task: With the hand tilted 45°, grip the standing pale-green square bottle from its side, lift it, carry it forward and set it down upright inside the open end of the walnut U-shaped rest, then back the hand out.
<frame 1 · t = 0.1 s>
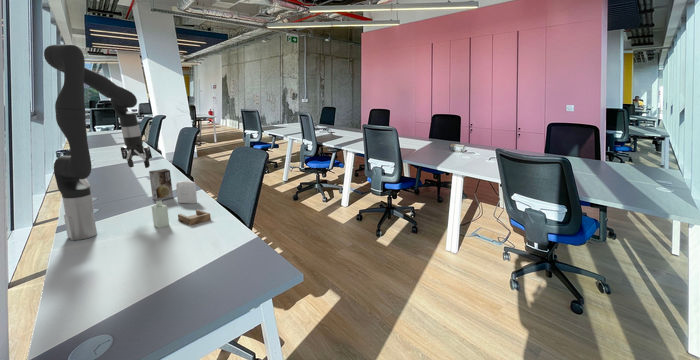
hand: (139, 167, 178), 22 cm above the table, tool pointing down, fingers open, 8 cm apart
bath foam: (85, 208, 187), on the table
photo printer: (187, 203, 197), on the table
bottle: (161, 225, 161), on the table
rest: (195, 220, 168), on the table
coffee box: (162, 198, 206), on the table
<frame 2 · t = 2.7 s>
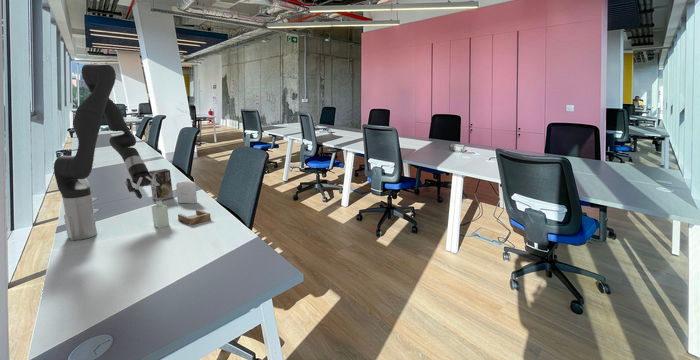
hand: (151, 195, 163), 12 cm above the table, tool tilted 45°, fingers open, 8 cm apart
nothing on the table moved.
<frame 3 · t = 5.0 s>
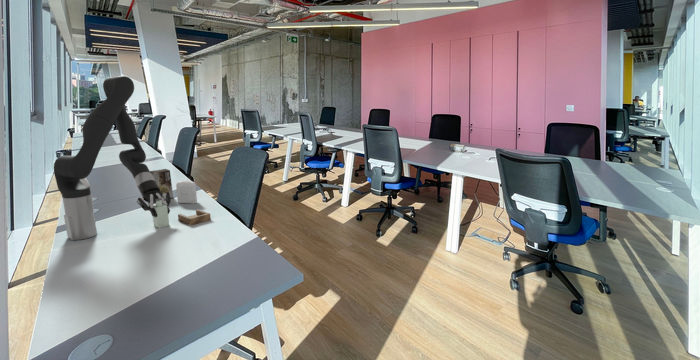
hand: (162, 214, 159), 5 cm above the table, tool tilted 45°, fingers closed on bottle, 4 cm apart
bottle: (161, 225, 161), on the table, touching gripper
everything else where it was.
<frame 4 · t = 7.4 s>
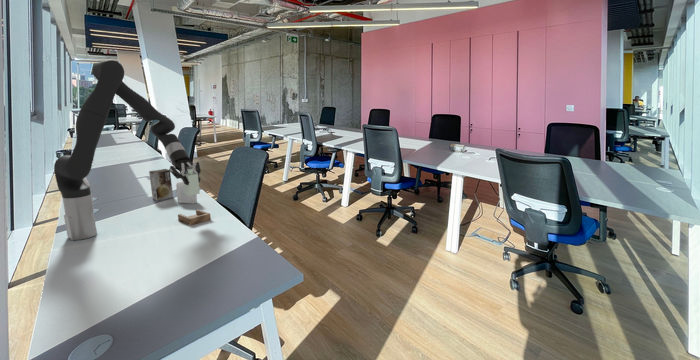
hand: (193, 182, 163), 18 cm above the table, tool tilted 45°, fingers closed on bottle, 4 cm apart
bottle: (192, 193, 166), point 13 cm above the table, touching gripper
everything else where it was.
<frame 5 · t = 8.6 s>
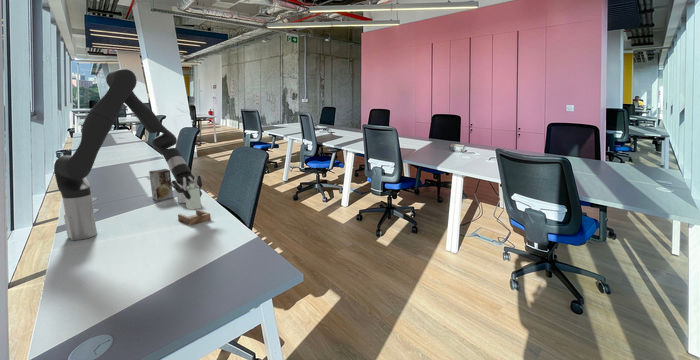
hand: (195, 197, 165), 11 cm above the table, tool tilted 45°, fingers closed on bottle, 4 cm apart
bottle: (193, 207, 167), point 6 cm above the table, touching gripper
everything else where it was.
when the fingers open (7 cm above the table, at t = 9.7 s): bottle drops 1 cm, resting on rest.
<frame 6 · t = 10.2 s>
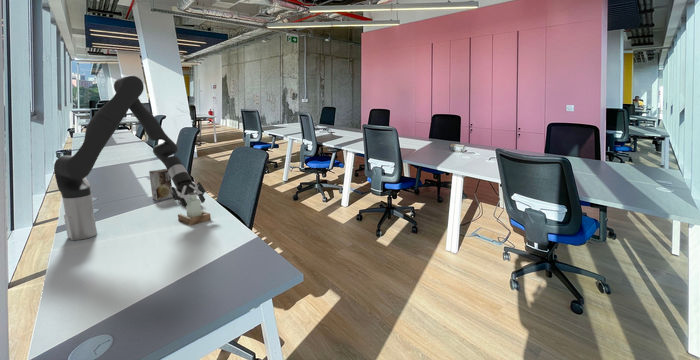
hand: (194, 203, 166), 8 cm above the table, tool tilted 45°, fingers open, 8 cm apart
bottle: (194, 218, 168), point 1 cm above the table, touching rest
everything else where it was.
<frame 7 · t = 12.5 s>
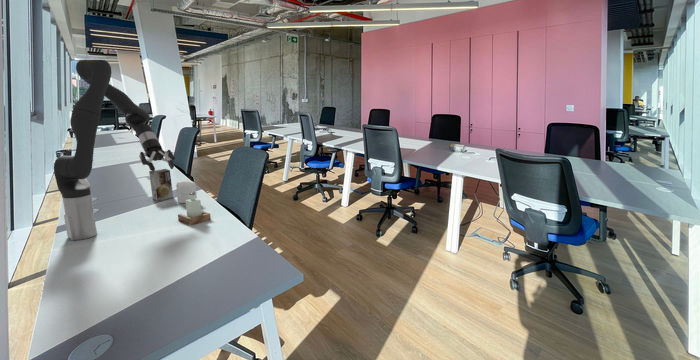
hand: (163, 169, 169), 23 cm above the table, tool tilted 45°, fingers open, 8 cm apart
nothing on the table moved.
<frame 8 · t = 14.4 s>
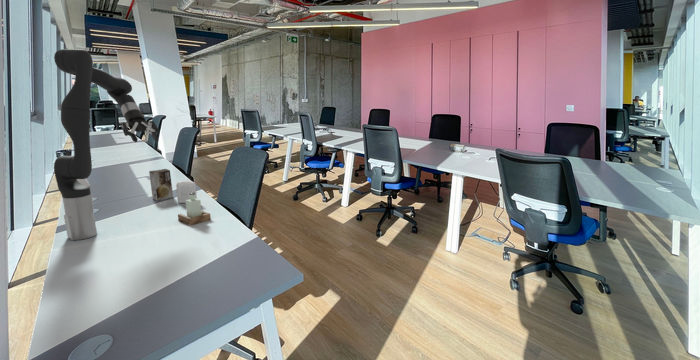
hand: (146, 140, 165), 37 cm above the table, tool tilted 45°, fingers open, 8 cm apart
nothing on the table moved.
at the end: bottle inside the target area on the rest (0.8 cm from its centre), point 0.8 cm above the rest's base; bottle tilted 0°; the gripper is holding nothing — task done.
